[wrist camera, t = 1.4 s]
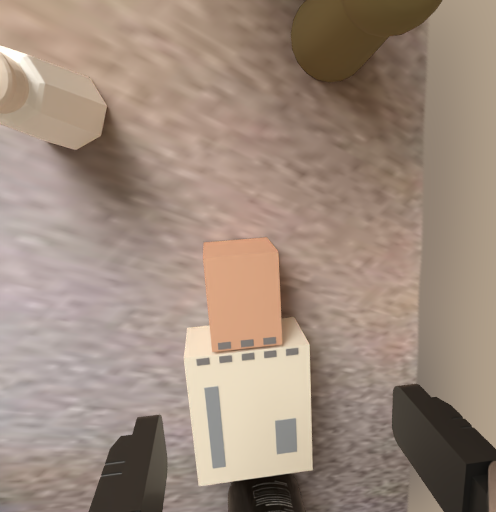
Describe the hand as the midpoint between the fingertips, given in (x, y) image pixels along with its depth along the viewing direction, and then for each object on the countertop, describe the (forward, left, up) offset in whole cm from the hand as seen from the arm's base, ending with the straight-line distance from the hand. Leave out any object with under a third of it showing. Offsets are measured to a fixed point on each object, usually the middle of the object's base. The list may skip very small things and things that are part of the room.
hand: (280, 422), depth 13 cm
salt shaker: (-13, -11, -18) cm, 25 cm away
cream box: (+10, 0, -18) cm, 21 cm away
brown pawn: (-17, +8, -19) cm, 26 cm away
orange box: (+1, 0, -18) cm, 18 cm away
